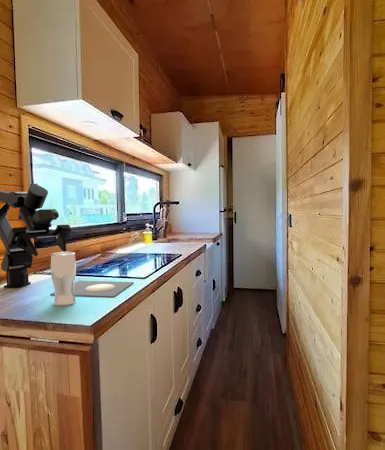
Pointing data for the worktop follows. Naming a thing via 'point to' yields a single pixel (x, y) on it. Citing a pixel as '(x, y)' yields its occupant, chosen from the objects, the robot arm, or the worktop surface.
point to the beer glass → (63, 277)
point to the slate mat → (99, 288)
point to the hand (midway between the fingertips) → (51, 253)
